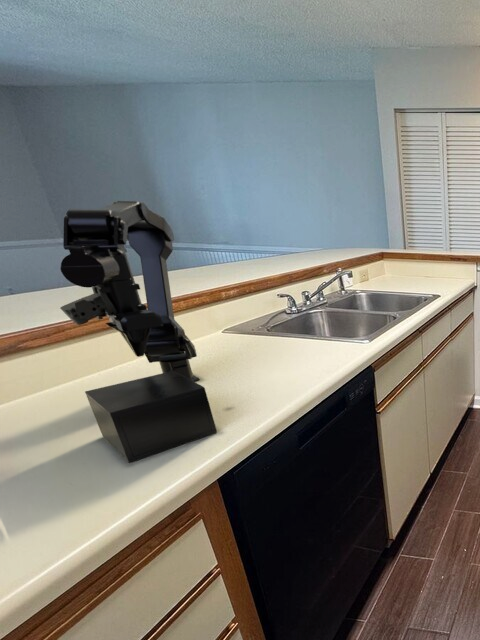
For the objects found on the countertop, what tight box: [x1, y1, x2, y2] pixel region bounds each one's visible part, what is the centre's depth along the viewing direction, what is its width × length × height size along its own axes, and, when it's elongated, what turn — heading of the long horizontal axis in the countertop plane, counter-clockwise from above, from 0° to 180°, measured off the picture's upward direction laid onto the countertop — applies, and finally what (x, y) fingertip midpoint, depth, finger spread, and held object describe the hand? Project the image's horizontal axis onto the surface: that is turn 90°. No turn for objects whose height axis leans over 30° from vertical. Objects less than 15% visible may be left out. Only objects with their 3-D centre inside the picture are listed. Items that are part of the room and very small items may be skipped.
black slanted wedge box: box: [84, 371, 218, 464], centre depth 79 cm, size 15×14×10 cm
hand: (140, 356), depth 87 cm, fingers closed
